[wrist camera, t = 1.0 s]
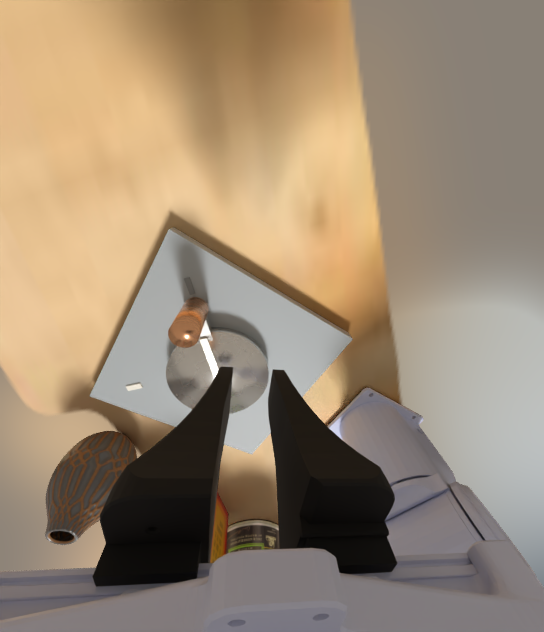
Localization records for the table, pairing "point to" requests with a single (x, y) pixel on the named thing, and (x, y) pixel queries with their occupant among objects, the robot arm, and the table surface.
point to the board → (224, 311)
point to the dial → (213, 358)
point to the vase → (85, 484)
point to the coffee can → (252, 536)
